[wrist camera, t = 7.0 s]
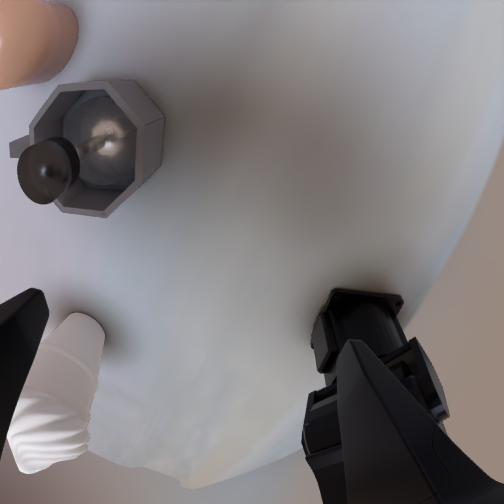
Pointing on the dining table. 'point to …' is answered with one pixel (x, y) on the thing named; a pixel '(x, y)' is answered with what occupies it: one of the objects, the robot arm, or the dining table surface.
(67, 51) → the peach rounded capsule
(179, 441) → the dining table surface
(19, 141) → the gray octagonal container
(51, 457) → the soft serve ice cream cone
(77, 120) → the plunger
